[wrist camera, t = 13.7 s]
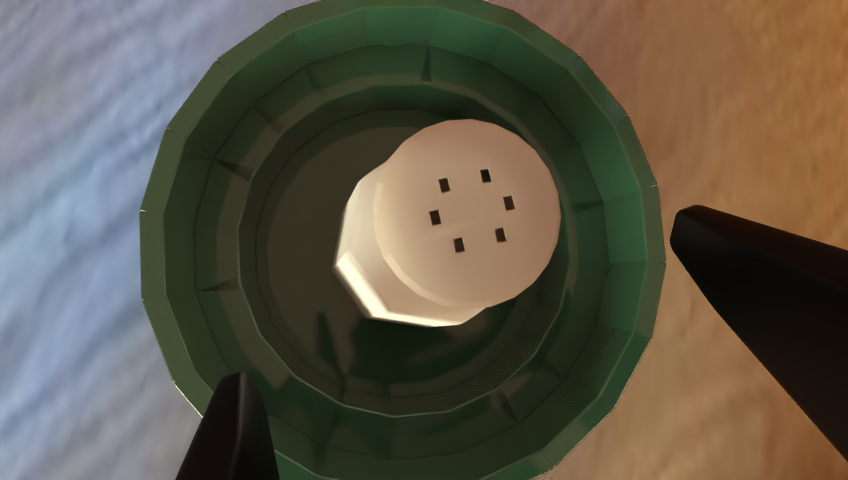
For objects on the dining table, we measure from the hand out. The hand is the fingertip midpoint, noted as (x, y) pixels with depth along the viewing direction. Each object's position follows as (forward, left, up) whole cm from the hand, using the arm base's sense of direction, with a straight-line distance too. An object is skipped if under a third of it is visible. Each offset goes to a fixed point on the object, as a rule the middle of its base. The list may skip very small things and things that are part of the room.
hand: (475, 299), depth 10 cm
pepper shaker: (+1, 0, -8) cm, 9 cm away
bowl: (+2, 0, -9) cm, 9 cm away
